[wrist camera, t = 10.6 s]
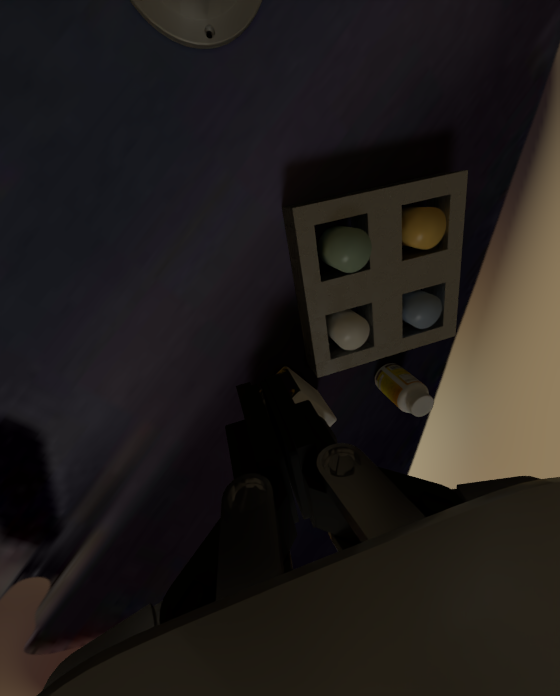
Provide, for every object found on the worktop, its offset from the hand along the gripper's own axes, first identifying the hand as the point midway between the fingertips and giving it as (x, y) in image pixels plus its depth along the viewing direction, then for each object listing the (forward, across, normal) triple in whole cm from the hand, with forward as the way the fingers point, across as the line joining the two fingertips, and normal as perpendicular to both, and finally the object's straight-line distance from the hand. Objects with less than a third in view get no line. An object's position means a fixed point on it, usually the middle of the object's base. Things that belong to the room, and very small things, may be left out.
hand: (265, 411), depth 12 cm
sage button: (+25, -14, 0) cm, 29 cm away
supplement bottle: (+27, -21, +21) cm, 40 cm away
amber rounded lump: (+27, -24, 0) cm, 36 cm away
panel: (+27, -19, +5) cm, 33 cm away
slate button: (+27, -24, +10) cm, 37 cm away
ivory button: (+27, -14, +10) cm, 32 cm away
